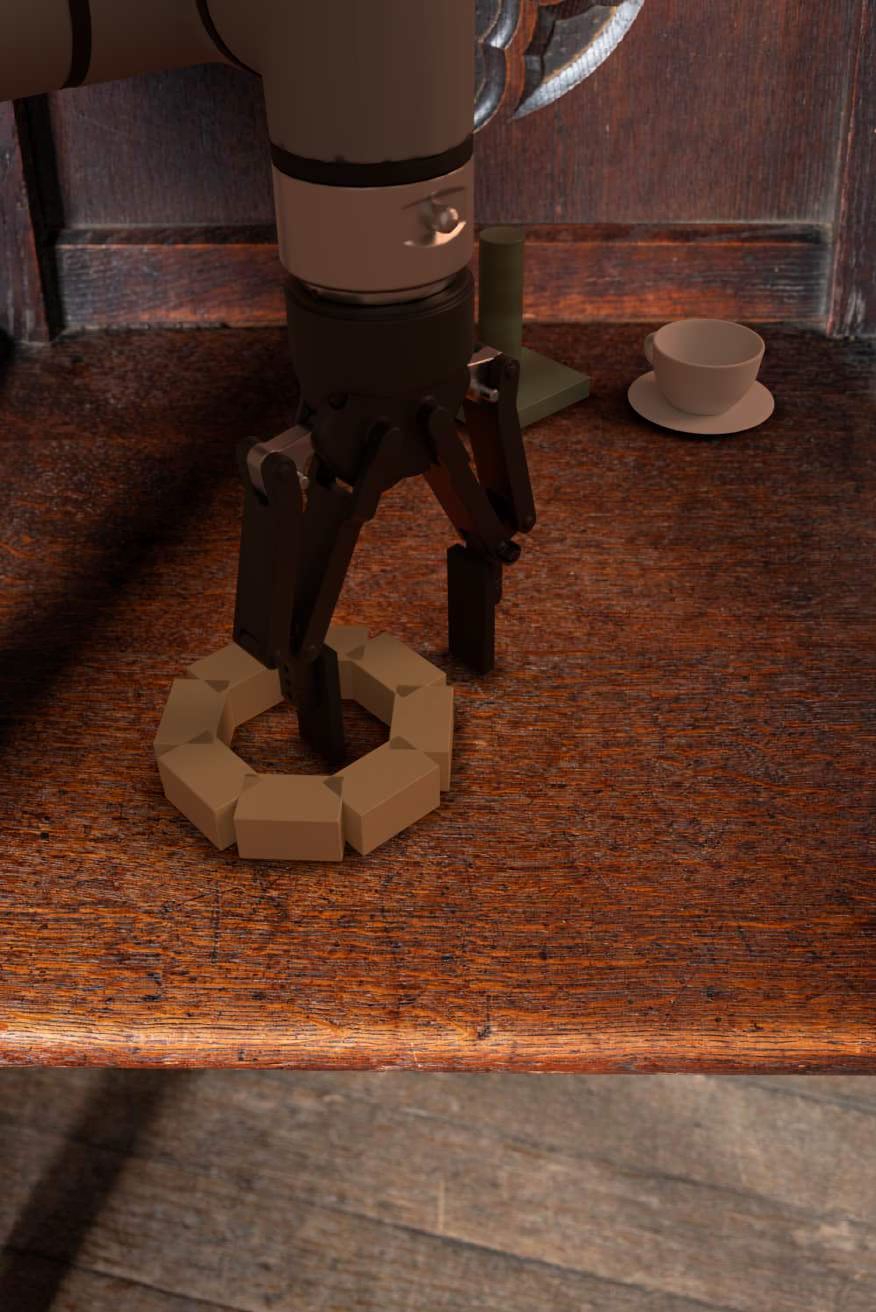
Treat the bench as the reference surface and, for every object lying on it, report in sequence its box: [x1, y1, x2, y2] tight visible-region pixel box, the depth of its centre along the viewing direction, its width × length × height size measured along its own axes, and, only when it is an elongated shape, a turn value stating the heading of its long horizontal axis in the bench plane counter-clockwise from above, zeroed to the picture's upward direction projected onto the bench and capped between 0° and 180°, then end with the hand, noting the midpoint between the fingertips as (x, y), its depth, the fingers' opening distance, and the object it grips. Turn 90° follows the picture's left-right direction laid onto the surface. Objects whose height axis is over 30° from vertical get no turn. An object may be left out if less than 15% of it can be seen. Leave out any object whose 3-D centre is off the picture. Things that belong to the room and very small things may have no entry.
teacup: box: [627, 318, 775, 435], centre depth 86 cm, size 10×10×5 cm
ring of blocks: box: [152, 624, 455, 863], centre depth 60 cm, size 14×14×3 cm
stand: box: [455, 225, 591, 429], centre depth 85 cm, size 9×9×12 cm
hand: (399, 701), depth 63 cm, fingers open, 9 cm apart
